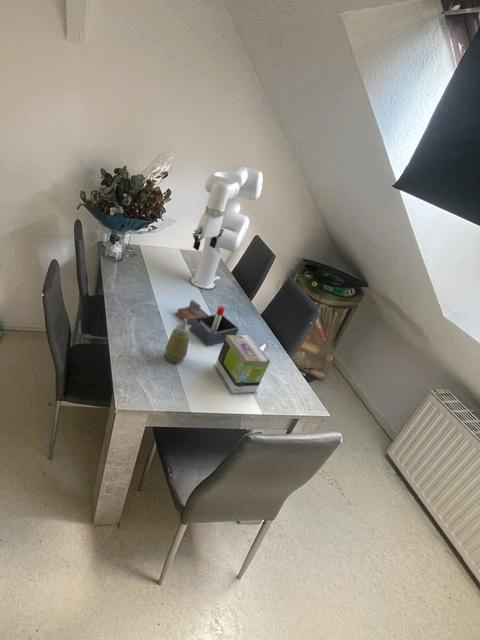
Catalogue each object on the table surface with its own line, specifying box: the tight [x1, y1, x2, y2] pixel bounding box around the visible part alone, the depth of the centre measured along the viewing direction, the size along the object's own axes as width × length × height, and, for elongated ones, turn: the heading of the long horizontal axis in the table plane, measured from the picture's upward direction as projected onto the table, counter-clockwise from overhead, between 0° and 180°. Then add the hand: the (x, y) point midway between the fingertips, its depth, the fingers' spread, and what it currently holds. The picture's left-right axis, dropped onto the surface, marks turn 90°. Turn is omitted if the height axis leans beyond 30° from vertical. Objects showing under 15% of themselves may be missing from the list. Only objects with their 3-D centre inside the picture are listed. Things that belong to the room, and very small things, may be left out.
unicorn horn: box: [258, 343, 267, 352], centre depth 153 cm, size 5×24×5 cm, turn 139°
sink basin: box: [189, 313, 239, 347], centre depth 163 cm, size 16×12×6 cm
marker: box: [210, 305, 225, 333], centre depth 160 cm, size 3×3×13 cm
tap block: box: [176, 305, 209, 325], centre depth 172 cm, size 11×10×3 cm
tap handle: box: [188, 299, 202, 315], centre depth 170 cm, size 6×2×5 cm, turn 28°
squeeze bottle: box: [165, 319, 191, 364], centre depth 141 cm, size 8×8×18 cm
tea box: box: [215, 334, 271, 394], centre depth 138 cm, size 15×10×15 cm, turn 12°
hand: (203, 247), depth 173 cm, fingers open, 9 cm apart
